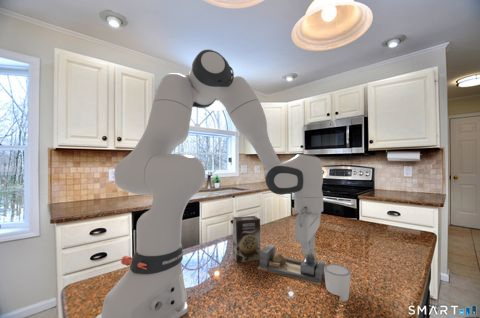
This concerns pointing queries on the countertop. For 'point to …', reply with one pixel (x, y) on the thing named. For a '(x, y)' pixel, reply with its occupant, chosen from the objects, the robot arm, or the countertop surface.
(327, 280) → the shot glass
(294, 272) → the grey holder tray
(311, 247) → the ram
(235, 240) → the coffee box
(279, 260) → the walnut
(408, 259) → the countertop surface
